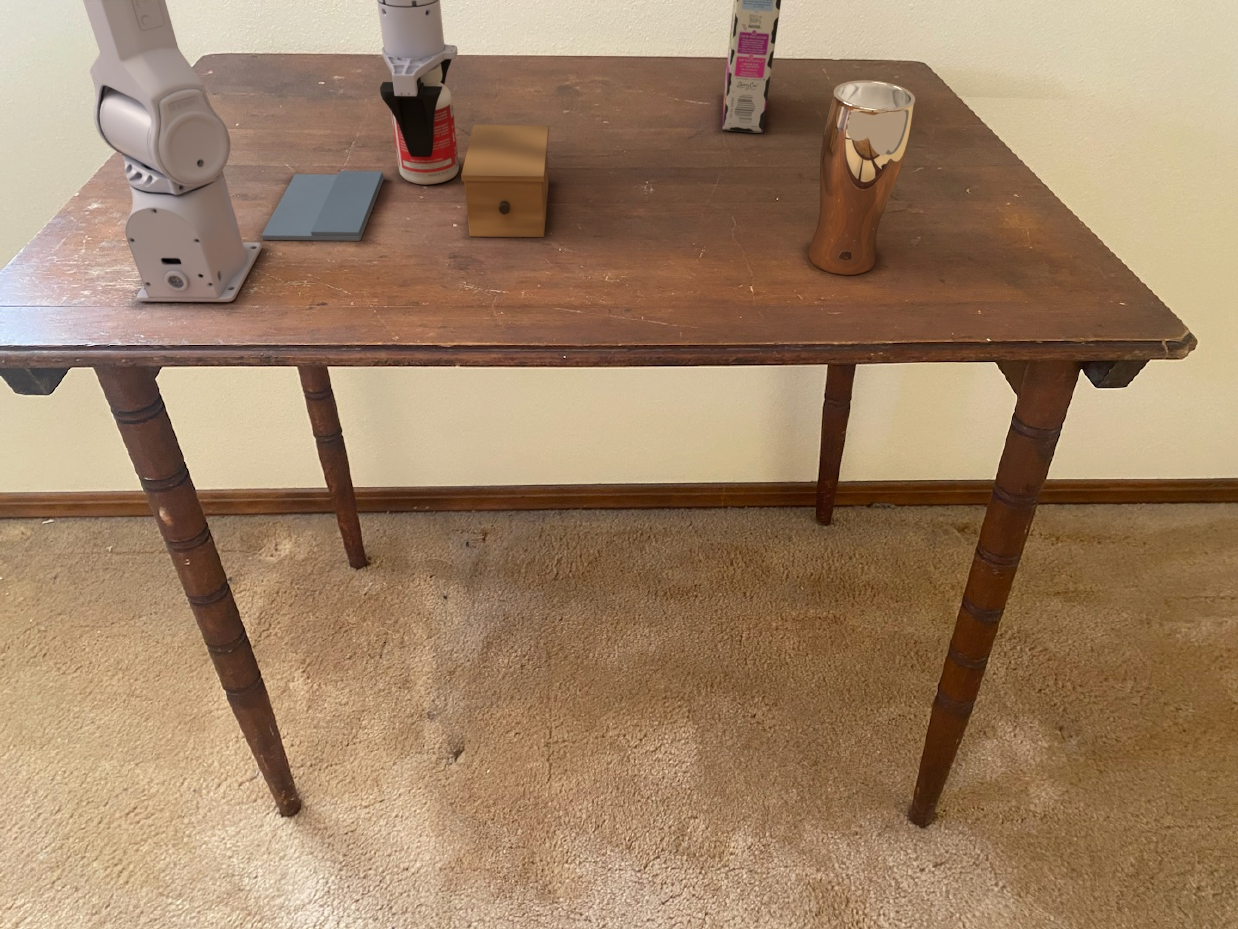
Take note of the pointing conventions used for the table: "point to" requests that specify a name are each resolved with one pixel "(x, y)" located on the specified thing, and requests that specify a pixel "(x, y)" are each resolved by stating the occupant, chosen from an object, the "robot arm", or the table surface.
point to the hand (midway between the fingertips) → (425, 141)
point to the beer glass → (859, 171)
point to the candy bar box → (749, 64)
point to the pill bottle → (444, 146)
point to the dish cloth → (325, 207)
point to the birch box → (506, 180)
